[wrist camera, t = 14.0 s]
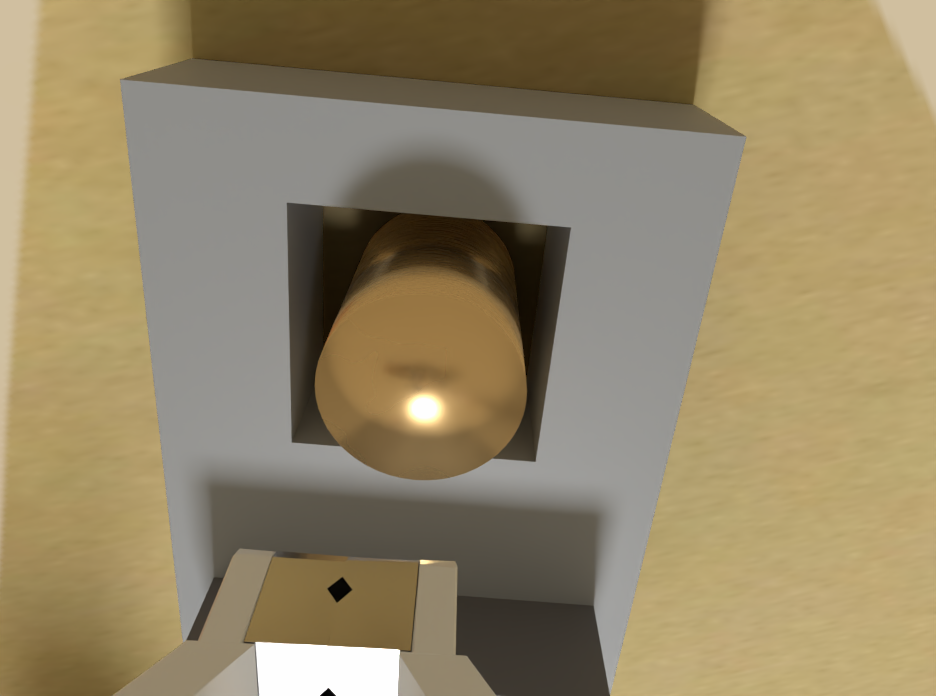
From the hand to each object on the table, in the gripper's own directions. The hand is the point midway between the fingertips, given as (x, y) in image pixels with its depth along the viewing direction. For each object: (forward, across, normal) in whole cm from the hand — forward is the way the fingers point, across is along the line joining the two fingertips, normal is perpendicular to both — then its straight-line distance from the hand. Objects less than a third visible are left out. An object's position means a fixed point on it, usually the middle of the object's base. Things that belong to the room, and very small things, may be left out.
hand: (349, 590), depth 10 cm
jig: (+11, -1, +3) cm, 11 cm away
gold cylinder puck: (+11, -1, 0) cm, 11 cm away
